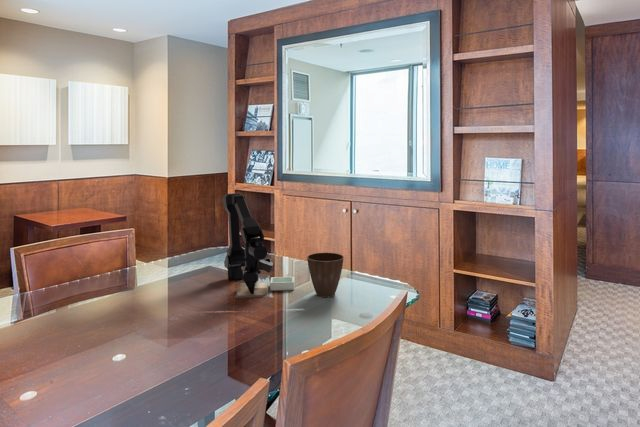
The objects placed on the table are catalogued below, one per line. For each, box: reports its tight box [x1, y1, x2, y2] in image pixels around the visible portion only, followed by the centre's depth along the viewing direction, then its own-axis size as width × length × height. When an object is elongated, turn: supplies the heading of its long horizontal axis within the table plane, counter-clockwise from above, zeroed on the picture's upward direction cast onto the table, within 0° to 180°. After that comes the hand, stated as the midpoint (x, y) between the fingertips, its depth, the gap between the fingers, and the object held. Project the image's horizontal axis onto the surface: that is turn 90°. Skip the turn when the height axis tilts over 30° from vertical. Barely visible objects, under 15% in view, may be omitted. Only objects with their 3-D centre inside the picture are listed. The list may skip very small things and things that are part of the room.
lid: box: [236, 282, 269, 296], centre depth 197 cm, size 12×7×4 cm, turn 93°
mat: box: [233, 287, 271, 299], centre depth 197 cm, size 14×12×1 cm
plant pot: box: [306, 252, 344, 298], centre depth 195 cm, size 15×15×16 cm
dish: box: [269, 276, 295, 292], centre depth 204 cm, size 10×8×4 cm
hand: (253, 291), depth 197 cm, fingers closed on lid, 7 cm apart
